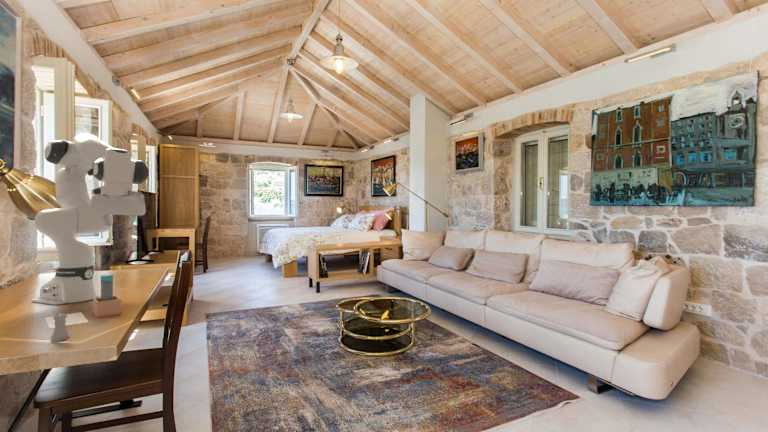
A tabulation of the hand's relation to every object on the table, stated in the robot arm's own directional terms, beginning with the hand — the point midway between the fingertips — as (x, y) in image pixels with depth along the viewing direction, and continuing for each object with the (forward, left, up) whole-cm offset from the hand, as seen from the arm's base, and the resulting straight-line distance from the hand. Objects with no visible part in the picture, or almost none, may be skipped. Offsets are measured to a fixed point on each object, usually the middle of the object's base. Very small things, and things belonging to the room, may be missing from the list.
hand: (118, 226), depth 144 cm
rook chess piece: (+8, -32, -33) cm, 46 cm away
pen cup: (+1, -6, -33) cm, 33 cm away
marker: (+1, -6, -32) cm, 33 cm away
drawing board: (-7, -16, -33) cm, 37 cm away
